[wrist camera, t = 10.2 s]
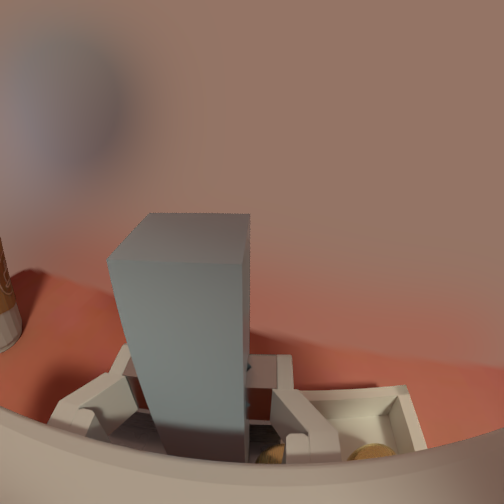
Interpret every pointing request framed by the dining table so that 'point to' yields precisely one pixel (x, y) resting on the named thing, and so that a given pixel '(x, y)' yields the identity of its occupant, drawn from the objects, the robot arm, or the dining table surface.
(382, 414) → the ball tray
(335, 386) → the dining table surface
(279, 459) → the brass sphere
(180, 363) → the tall gray pillar
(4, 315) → the coffee cup
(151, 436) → the slot rail
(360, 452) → the gold metallic ball
